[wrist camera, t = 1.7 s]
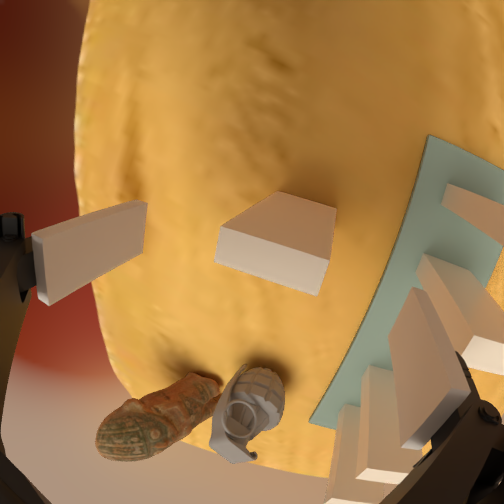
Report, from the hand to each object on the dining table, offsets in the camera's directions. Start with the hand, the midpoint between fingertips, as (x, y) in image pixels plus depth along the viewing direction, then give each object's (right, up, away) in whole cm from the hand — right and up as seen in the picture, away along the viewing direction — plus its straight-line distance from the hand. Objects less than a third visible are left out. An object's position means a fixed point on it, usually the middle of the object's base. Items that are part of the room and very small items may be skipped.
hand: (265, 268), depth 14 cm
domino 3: (+13, -12, +13) cm, 21 cm away
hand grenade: (+1, -12, +18) cm, 21 cm away
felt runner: (+14, -6, +11) cm, 19 cm away
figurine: (-8, -14, +21) cm, 27 cm away
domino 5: (+15, -1, +8) cm, 17 cm away
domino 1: (+4, +4, +11) cm, 12 cm away
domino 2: (+11, -17, +15) cm, 25 cm away
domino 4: (+17, +5, +6) cm, 18 cm away
